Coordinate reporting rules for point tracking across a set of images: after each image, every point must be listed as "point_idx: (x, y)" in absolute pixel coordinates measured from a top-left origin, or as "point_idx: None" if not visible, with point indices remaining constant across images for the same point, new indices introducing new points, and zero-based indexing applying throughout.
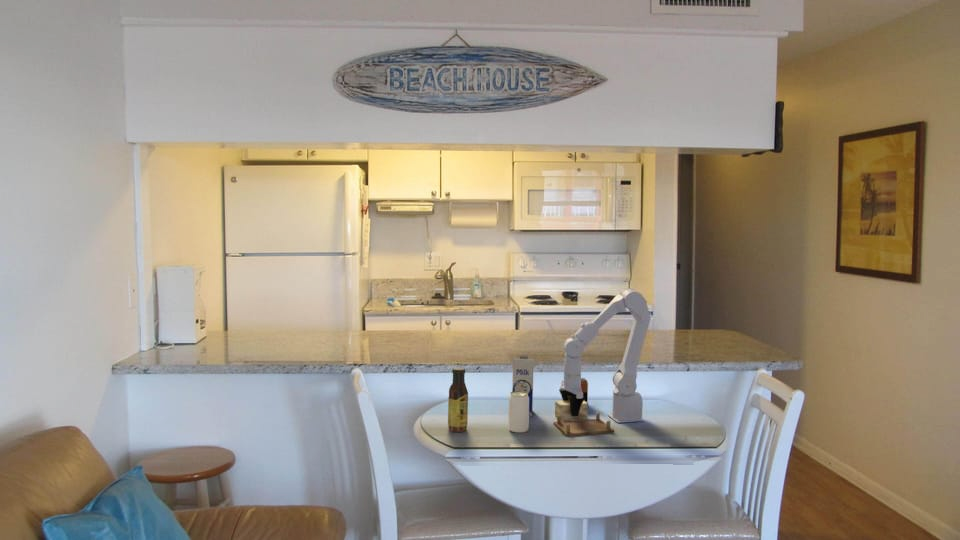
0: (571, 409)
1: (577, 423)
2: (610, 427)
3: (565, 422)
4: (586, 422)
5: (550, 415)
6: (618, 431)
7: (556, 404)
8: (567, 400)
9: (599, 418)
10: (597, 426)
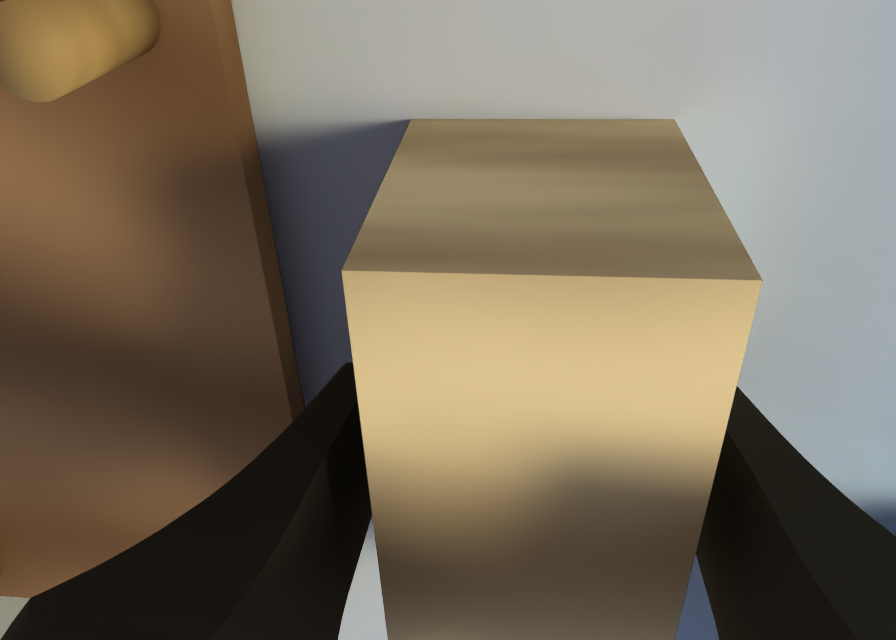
0: (281, 434)
1: (130, 330)
2: (27, 595)
3: (167, 162)
4: (185, 452)
5: (765, 44)
6: (16, 608)
7: (636, 243)
8: (688, 559)
9: None
10: (40, 504)
